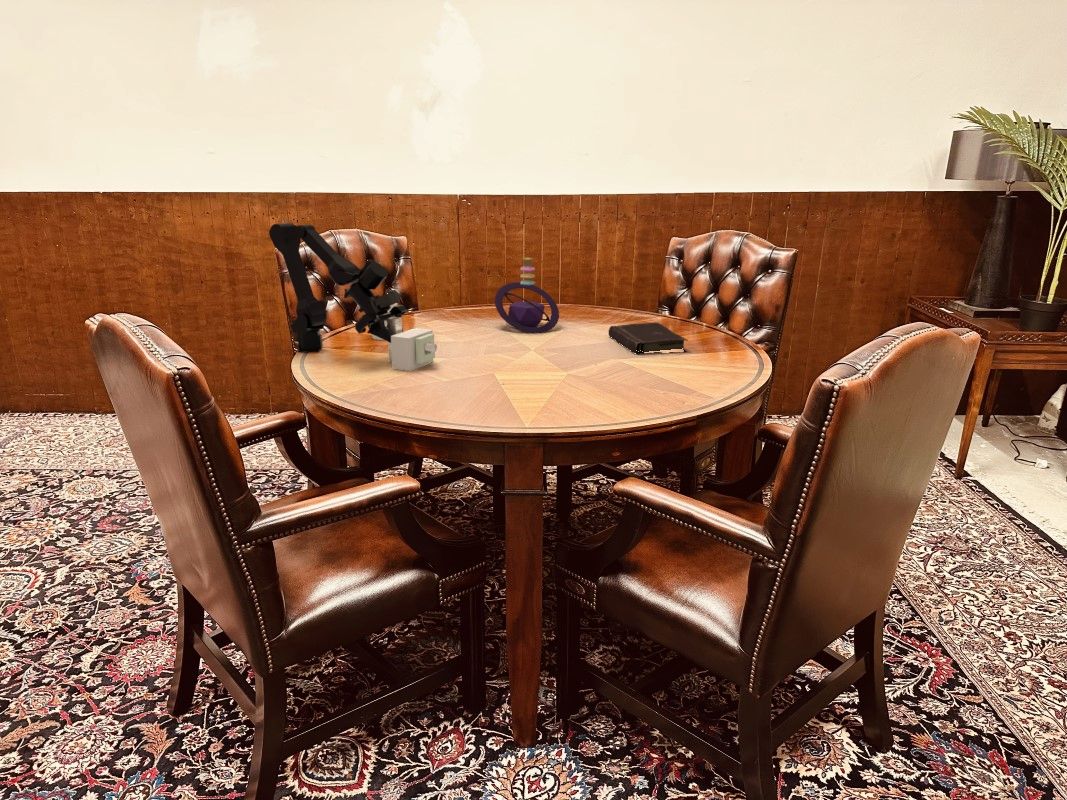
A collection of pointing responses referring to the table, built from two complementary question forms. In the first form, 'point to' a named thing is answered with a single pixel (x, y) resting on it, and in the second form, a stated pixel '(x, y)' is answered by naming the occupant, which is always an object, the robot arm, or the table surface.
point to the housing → (407, 349)
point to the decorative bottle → (526, 305)
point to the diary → (646, 337)
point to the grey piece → (396, 327)
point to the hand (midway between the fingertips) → (399, 340)
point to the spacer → (420, 348)
